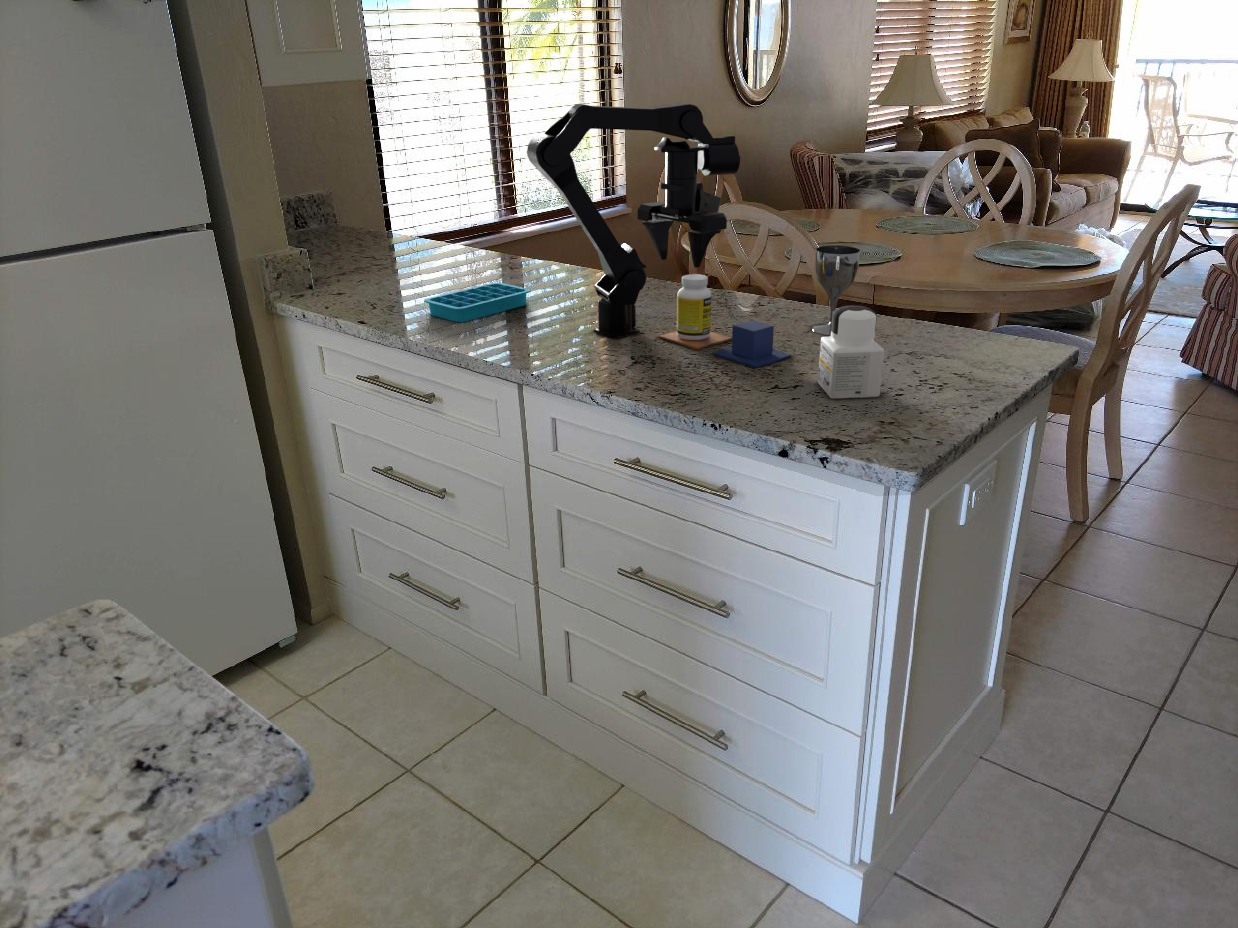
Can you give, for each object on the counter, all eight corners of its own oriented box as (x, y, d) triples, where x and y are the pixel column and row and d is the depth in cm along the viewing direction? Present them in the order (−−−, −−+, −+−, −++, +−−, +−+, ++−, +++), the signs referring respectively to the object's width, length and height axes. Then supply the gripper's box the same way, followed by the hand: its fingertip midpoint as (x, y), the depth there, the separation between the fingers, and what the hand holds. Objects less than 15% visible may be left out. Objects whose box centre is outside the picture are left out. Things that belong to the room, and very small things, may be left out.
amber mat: (697, 349, 170) (697, 347, 170) (658, 337, 177) (658, 335, 177) (732, 339, 175) (732, 337, 175) (693, 328, 182) (693, 326, 182)
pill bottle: (708, 342, 173) (710, 281, 168) (674, 340, 174) (675, 280, 169) (712, 332, 178) (714, 273, 174) (679, 331, 179) (680, 272, 175)
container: (816, 383, 153) (823, 303, 148) (864, 381, 153) (872, 301, 148) (830, 399, 146) (837, 316, 140) (880, 397, 146) (889, 314, 141)
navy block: (752, 359, 163) (754, 331, 161) (731, 353, 166) (732, 325, 164) (772, 353, 166) (774, 325, 164) (751, 347, 169) (752, 320, 167)
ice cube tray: (422, 314, 194) (420, 300, 192) (497, 295, 207) (496, 281, 206) (459, 324, 187) (458, 309, 185) (534, 304, 200) (533, 290, 199)
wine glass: (857, 326, 182) (864, 247, 176) (847, 337, 176) (855, 255, 169) (815, 322, 185) (821, 244, 179) (805, 333, 179) (810, 252, 173)
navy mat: (755, 368, 160) (755, 365, 160) (713, 354, 167) (713, 352, 167) (791, 357, 165) (791, 355, 165) (748, 344, 172) (748, 342, 172)
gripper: (750, 178, 171) (746, 265, 177) (679, 168, 184) (678, 250, 191) (704, 184, 165) (702, 274, 171) (635, 174, 178) (635, 258, 184)
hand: (680, 263), depth 179 cm, fingers open, 9 cm apart
